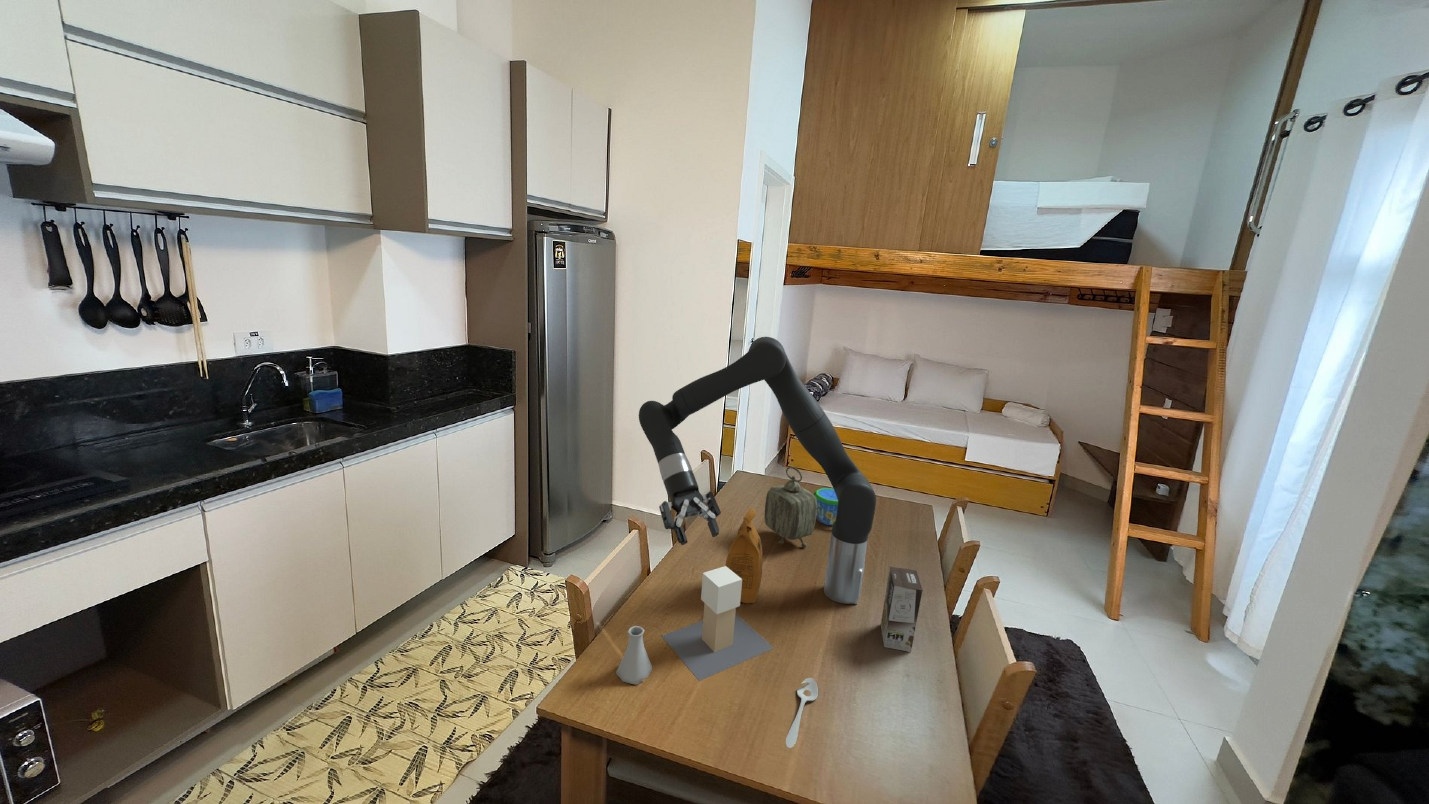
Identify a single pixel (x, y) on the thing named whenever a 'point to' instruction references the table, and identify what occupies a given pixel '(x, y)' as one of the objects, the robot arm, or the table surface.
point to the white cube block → (721, 589)
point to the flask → (634, 659)
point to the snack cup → (826, 505)
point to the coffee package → (747, 558)
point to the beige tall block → (718, 628)
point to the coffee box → (901, 608)
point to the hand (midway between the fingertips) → (700, 539)
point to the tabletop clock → (791, 510)
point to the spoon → (794, 728)
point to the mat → (710, 662)
